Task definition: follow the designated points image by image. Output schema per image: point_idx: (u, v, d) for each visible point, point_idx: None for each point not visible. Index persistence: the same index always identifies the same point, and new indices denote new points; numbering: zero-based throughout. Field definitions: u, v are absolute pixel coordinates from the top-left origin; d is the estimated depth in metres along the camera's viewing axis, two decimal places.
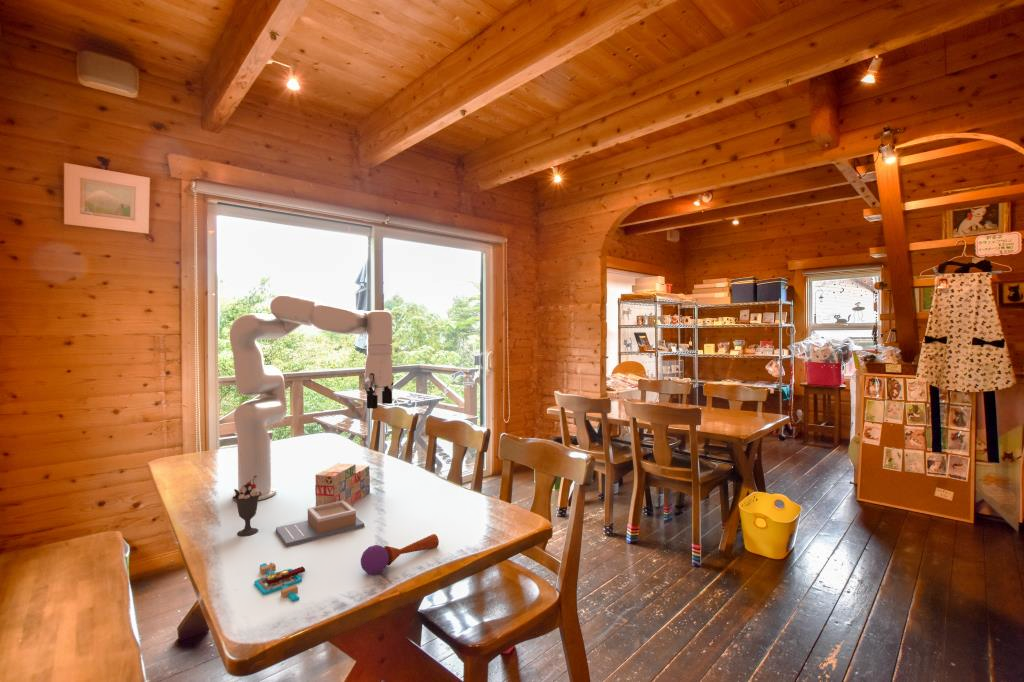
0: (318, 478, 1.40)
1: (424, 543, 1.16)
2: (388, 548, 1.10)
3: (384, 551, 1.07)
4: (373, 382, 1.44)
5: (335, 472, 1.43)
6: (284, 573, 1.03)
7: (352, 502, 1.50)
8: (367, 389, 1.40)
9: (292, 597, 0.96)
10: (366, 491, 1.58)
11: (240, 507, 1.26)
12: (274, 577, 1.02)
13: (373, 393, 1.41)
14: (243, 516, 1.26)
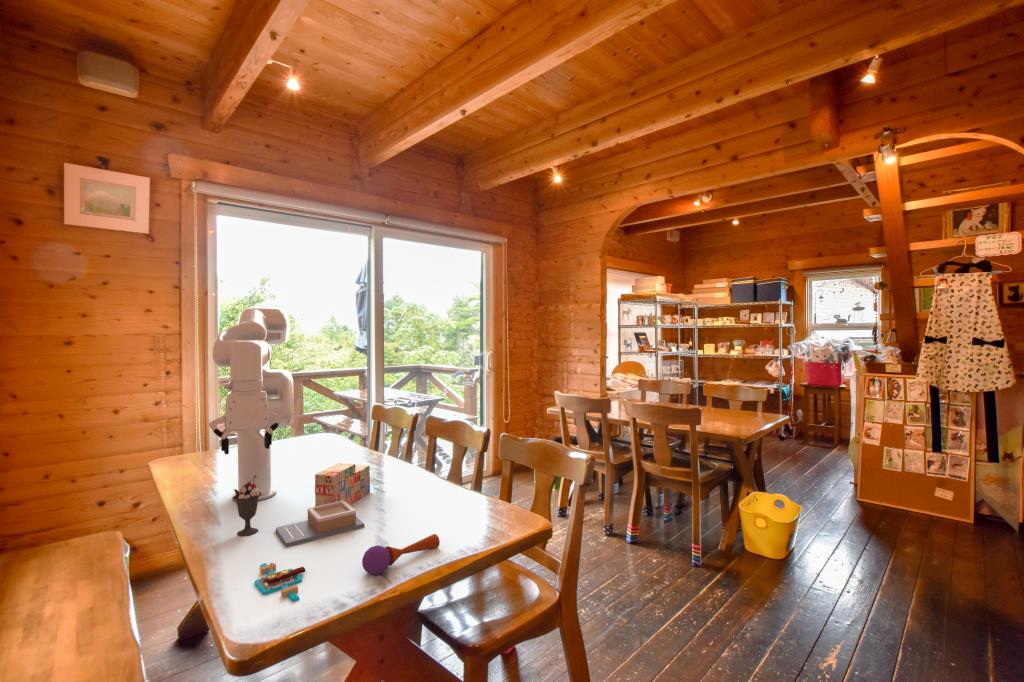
0: (318, 478, 1.41)
1: (425, 543, 1.16)
2: (389, 548, 1.09)
3: (386, 551, 1.07)
4: None
5: (335, 472, 1.43)
6: (284, 573, 1.03)
7: (352, 502, 1.50)
8: None
9: (292, 597, 0.96)
10: (366, 491, 1.58)
11: (241, 507, 1.26)
12: (274, 577, 1.02)
13: None
14: (243, 516, 1.26)
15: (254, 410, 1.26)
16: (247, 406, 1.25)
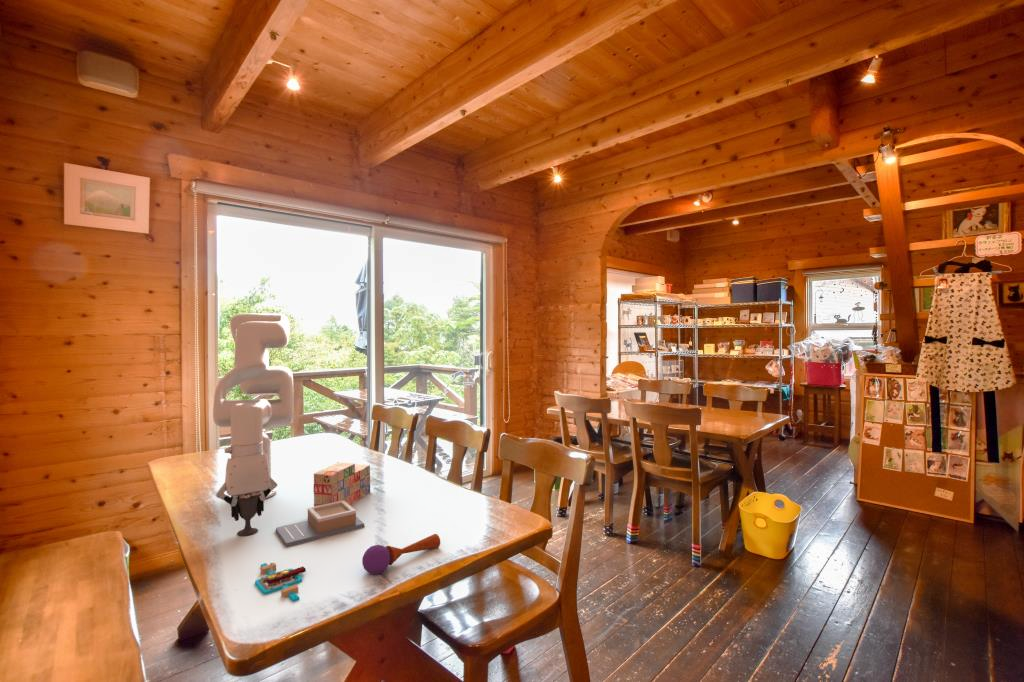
0: (316, 477, 1.41)
1: (426, 543, 1.16)
2: (390, 548, 1.10)
3: (386, 551, 1.07)
4: None
5: (333, 471, 1.43)
6: (285, 573, 1.03)
7: (351, 501, 1.50)
8: None
9: (292, 597, 0.96)
10: (366, 490, 1.59)
11: (241, 507, 1.26)
12: (275, 577, 1.02)
13: None
14: (243, 516, 1.26)
15: (255, 473, 1.27)
16: (248, 470, 1.26)
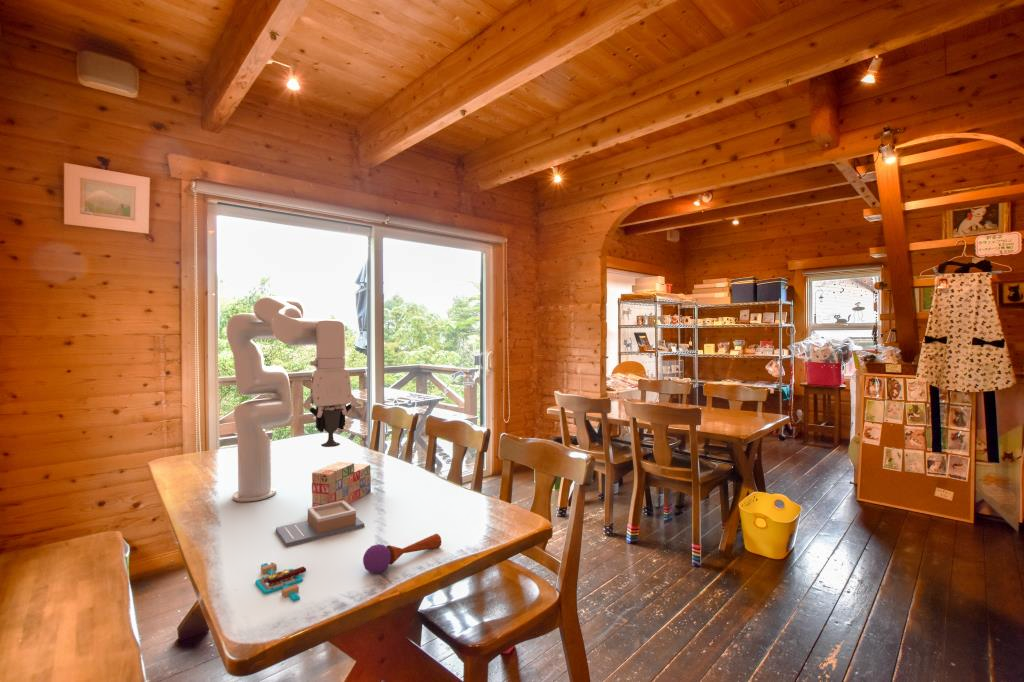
0: (314, 476, 1.42)
1: (427, 543, 1.17)
2: (390, 547, 1.10)
3: (386, 550, 1.07)
4: None
5: (331, 470, 1.44)
6: (285, 573, 1.03)
7: (350, 501, 1.51)
8: None
9: (293, 597, 0.96)
10: (366, 490, 1.59)
11: (326, 418, 1.29)
12: (275, 577, 1.02)
13: None
14: (328, 428, 1.30)
15: (339, 387, 1.30)
16: (333, 383, 1.29)
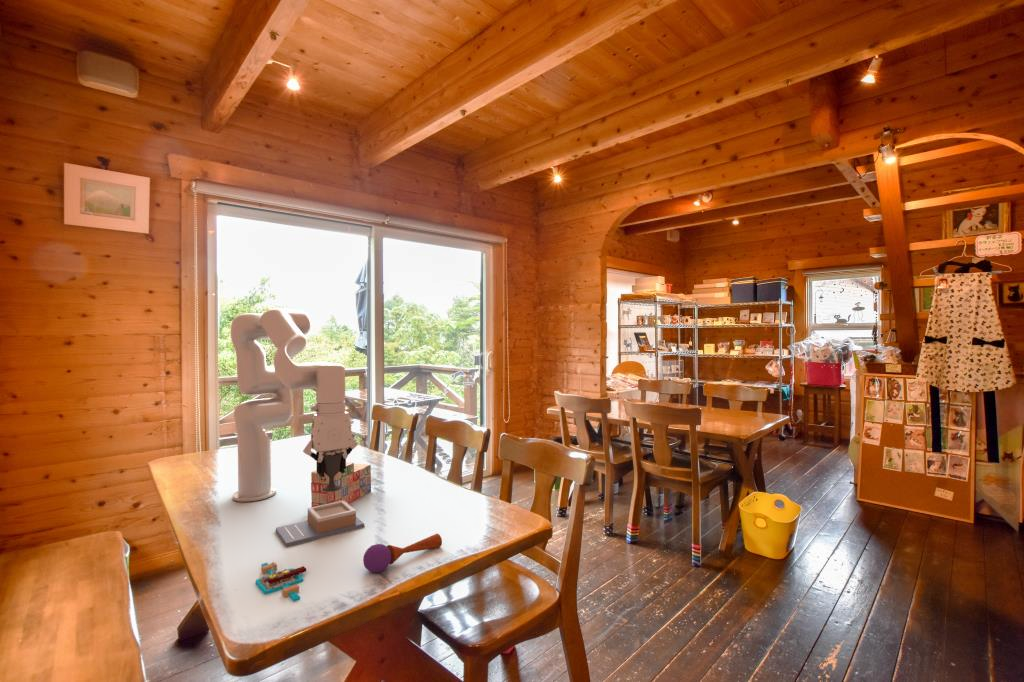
0: (313, 475, 1.43)
1: (427, 543, 1.17)
2: (391, 547, 1.10)
3: (386, 550, 1.08)
4: None
5: None
6: (285, 572, 1.03)
7: (350, 500, 1.51)
8: None
9: (293, 596, 0.96)
10: (366, 490, 1.59)
11: (326, 463, 1.30)
12: (275, 576, 1.02)
13: None
14: (328, 472, 1.30)
15: (339, 431, 1.30)
16: (333, 427, 1.30)
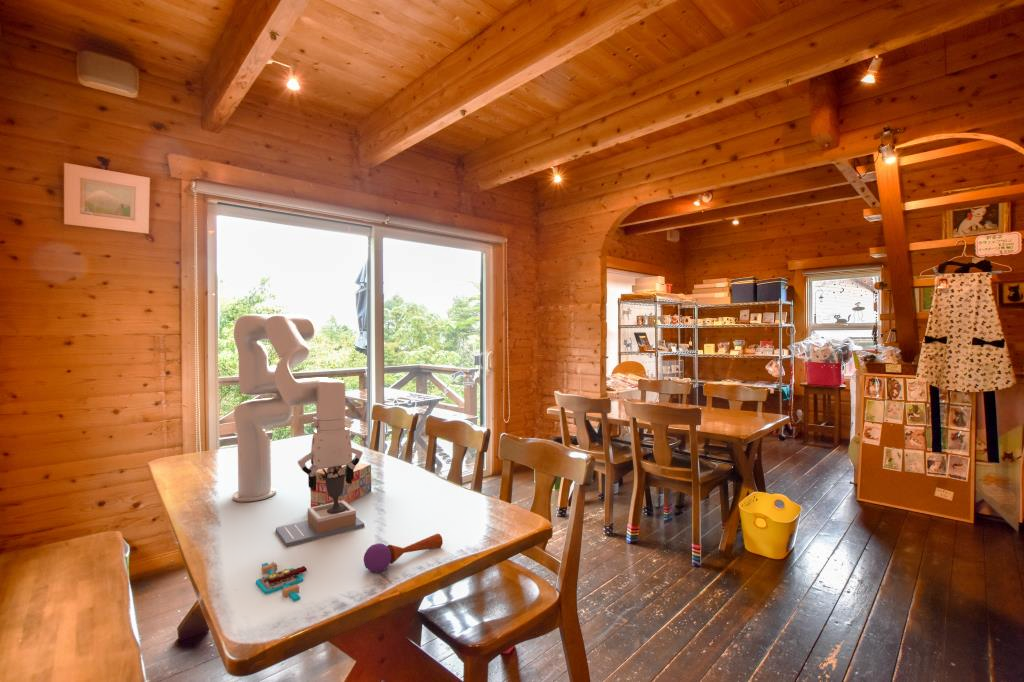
0: None
1: (428, 542, 1.17)
2: (391, 547, 1.10)
3: (387, 550, 1.08)
4: None
5: None
6: (286, 572, 1.03)
7: (349, 500, 1.52)
8: None
9: (293, 596, 0.96)
10: (367, 489, 1.60)
11: (330, 486, 1.31)
12: (276, 576, 1.02)
13: None
14: (332, 494, 1.31)
15: (339, 447, 1.31)
16: (333, 444, 1.30)
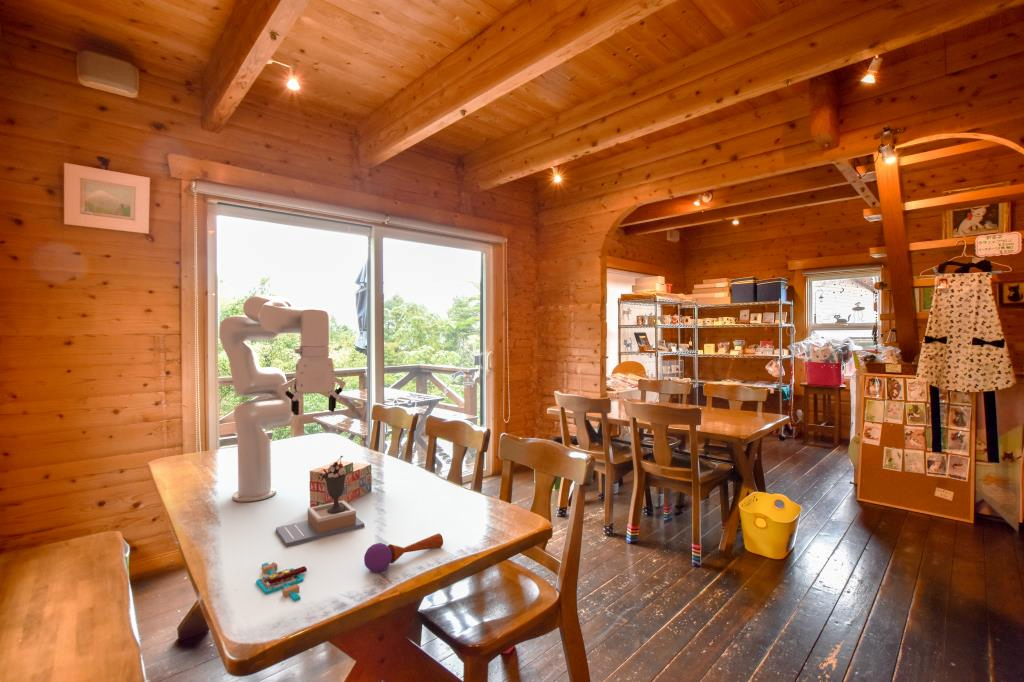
0: (312, 474, 1.44)
1: (428, 542, 1.17)
2: (391, 546, 1.10)
3: (387, 549, 1.08)
4: None
5: None
6: (286, 572, 1.03)
7: (349, 499, 1.52)
8: None
9: (294, 596, 0.96)
10: (367, 489, 1.60)
11: (330, 485, 1.31)
12: (276, 576, 1.02)
13: None
14: (333, 494, 1.31)
15: (322, 375, 1.33)
16: (316, 371, 1.32)
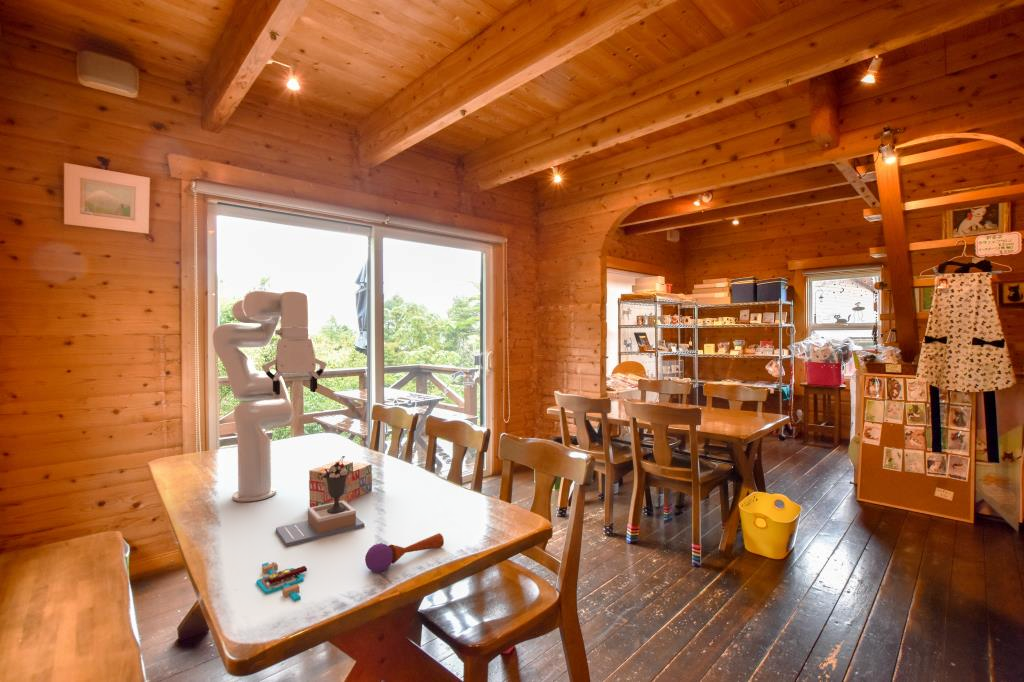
0: (311, 474, 1.45)
1: (429, 542, 1.17)
2: (392, 546, 1.10)
3: (388, 549, 1.08)
4: None
5: (328, 469, 1.46)
6: (286, 572, 1.03)
7: (348, 499, 1.52)
8: None
9: (294, 596, 0.96)
10: (367, 489, 1.60)
11: (331, 485, 1.31)
12: (276, 576, 1.02)
13: None
14: (333, 494, 1.31)
15: (303, 355, 1.37)
16: (296, 351, 1.36)
